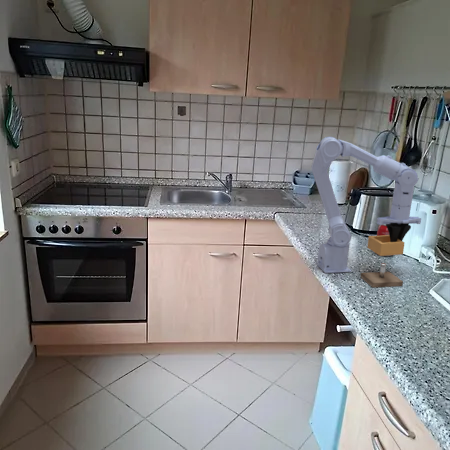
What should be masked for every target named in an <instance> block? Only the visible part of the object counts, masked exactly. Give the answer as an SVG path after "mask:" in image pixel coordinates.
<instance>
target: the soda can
mask: <svg viewBox="0 0 450 450" xmlns="http://www.w3.org/2000/svg"><path fill="white" fill-rule="evenodd" d="M381 235H389V232H388V229H387V226H386V224H383V225H379V224H378V227H377V232H376V236H381ZM391 256H392V255H386V256H385V257H391Z"/></svg>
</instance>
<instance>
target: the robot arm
mask: <svg viewBox="0 0 450 450" xmlns="http://www.w3.org/2000/svg"><path fill="white" fill-rule="evenodd" d="M340 156H341V157H342V158H345V157H352V158H355V159H356V160H359V161H361V162H364V163H366V164H367V165H370V166H372V169H373V172H374V173H376V174H379V175H381V176H383V177H385V178H387V179H389V180H392V181H395V183H394V189H393V193H392V200H391V201H392V202H391V208H390V215H388V216H381V217H377V218H376V224H377V225H378V226H379V225H383V224H386V226H387V229H388V232H389V236H390V242H397V239H399V240H401V241H403V240H404V238H405V236H406V235H407V234H408V232H409V231H410V230H411V228H412V226H411V224H417V225H421V223H422V217H419V216H410V215H411V208H412V202H413V196H414V189H415V186H416V185H417V184H418V181H419V179H420V178H419V177H418V172H417V171H416V170H415V169H413V168H411V167H410V166H408V165H406V163H404V162H398V161H397V160H395V159H393V156H391V155H389V154H387V155H379V156H376V155H374V154H373V153H370V152H369V151H367V150H365V149H362V148H361V147H360V146H357V145H356V144H354V143H351V142H348V141H346V140H343V139H339V138H338V139H337V138H336V137H335V136H334V137H333V136H326V137H324V138H322V139H321V140H320V142H319V143H318V145H317V146H316V149H315V153H314V157H313V160H312V163H311V167H310V169H311V173H312V175H313V177H314V178H313V179H314V181H315V184H316V188H317V191H318V193H319V196H320V199H321V203H322V205H323V208H324V211H325V214H326V218H327V222H328V225H329V226H328V233H329V235H330V237H329V238H328V239H327V241H326V242H324V243H320V244H319V246H318V253H317V262H316V266H317V267H318V268H319V269H320V270H321V271H322V272H324V273H325V274H329V273H331V274H333V273H351V272H352V269H350V268H349V267H348V262H349V261H348V260H349V251H350V242H351V240H352V235H351V232H350V231H349V229H348V225H347V224H346V223H345V222H344V219H343V217H342V214H341V211H340V207H339V203H338V201H337V199H336V194H335V192H334V189H333V185H332V182H331V178H330V176H329V173H328V169H329V167H330V166H331V164H332V163H333V162H335V160H337V158H339V157H340Z"/></svg>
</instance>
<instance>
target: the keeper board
mask: <svg viewBox="0 0 450 450" xmlns="http://www.w3.org/2000/svg"><path fill="white" fill-rule="evenodd" d="M379 265H380V269H379V272H377V271H376V272H375V271H373V272H371V271H370V272H360V279H362V280H363V281H364V282H366V283H367V284H368V285H369V286H370V287H372V288H392V287H394V288H395V287H403V285H404V281H403V280H401V279H400V278H399V277H398V276H396V275H395V274H393V273H392V272H390V271H386V267H387V263H385V262H380V264H379Z"/></svg>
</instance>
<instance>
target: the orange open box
mask: <svg viewBox="0 0 450 450" xmlns="http://www.w3.org/2000/svg"><path fill="white" fill-rule="evenodd" d="M405 244H406V243H405V242H404V241H403V240H402V241H401V240H399V239H397V242H390V236H389V235H381V236H377V235H369V236H368V240H367V248H368V249H369V250H370V251H371V252H374V253H375V254H377V255H378V256H380V257H387V256H386V255H391V256H398V255H404V249H405Z"/></svg>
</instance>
